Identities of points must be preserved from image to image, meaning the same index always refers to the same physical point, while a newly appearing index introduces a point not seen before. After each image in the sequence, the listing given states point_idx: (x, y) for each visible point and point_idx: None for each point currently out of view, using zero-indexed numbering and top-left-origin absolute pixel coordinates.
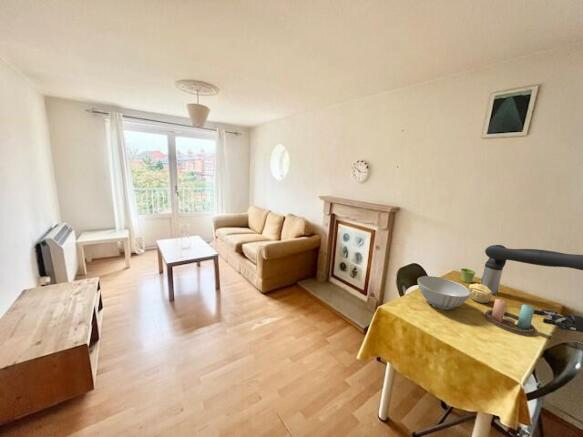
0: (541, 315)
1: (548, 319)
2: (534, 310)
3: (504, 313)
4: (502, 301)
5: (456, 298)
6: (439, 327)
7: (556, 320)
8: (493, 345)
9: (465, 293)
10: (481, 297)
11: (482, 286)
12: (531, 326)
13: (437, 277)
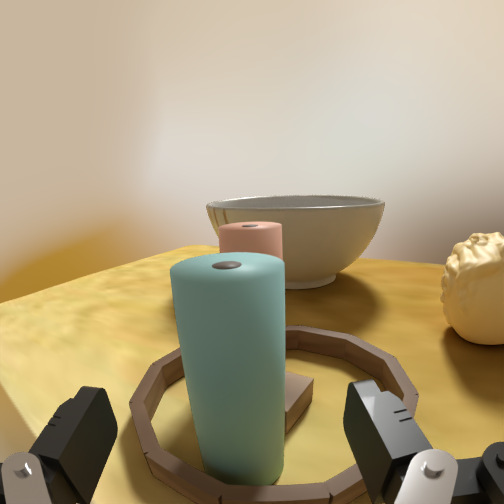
0: (371, 497)
1: (72, 407)
2: (350, 384)
3: (396, 390)
4: (247, 227)
5: (209, 214)
6: (138, 274)
7: (39, 482)
8: (61, 320)
9: (323, 231)
10: (448, 296)
11: (482, 236)
12: (243, 486)
13: (372, 199)
